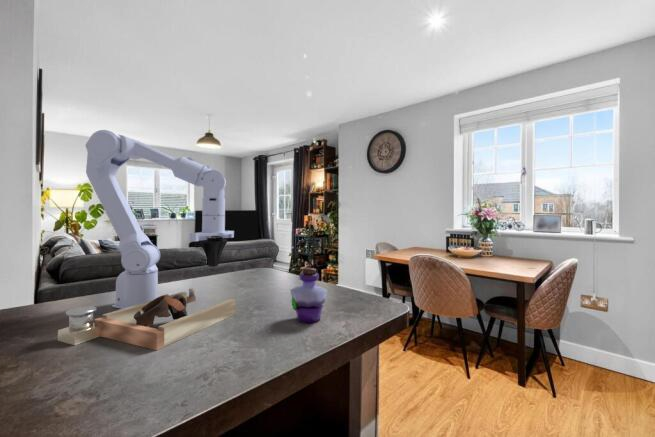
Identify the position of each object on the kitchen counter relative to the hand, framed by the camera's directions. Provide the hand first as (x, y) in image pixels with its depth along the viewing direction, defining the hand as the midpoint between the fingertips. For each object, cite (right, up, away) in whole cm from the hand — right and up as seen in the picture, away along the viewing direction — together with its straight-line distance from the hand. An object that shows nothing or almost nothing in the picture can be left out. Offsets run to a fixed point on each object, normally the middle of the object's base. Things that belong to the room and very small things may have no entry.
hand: (213, 266), depth 83 cm
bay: (-3, -10, -15) cm, 18 cm away
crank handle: (-7, -10, -1) cm, 12 cm away
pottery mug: (-3, -11, -18) cm, 21 cm away
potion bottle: (+26, -11, -11) cm, 31 cm away
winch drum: (-16, -10, -24) cm, 31 cm away
